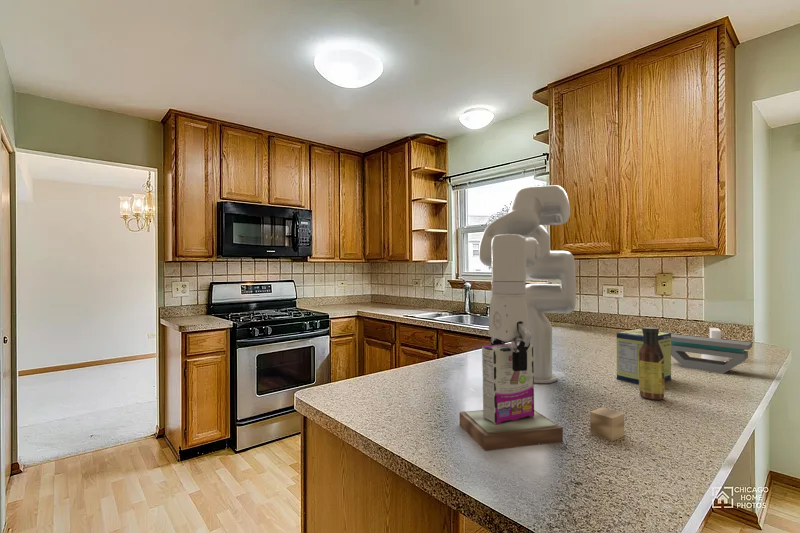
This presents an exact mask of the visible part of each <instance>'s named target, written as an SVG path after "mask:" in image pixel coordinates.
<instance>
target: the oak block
mask: <svg viewBox="0 0 800 533" xmlns="http://www.w3.org/2000/svg"><path fill="white" fill-rule="evenodd" d="M589 412H590V414H589V417H590V418H589V420H590V423H589V424H590V426H589V428H590V429H589V433H590V435H594V436H596V437H599V438H602V439H605V440H607V441H610V442H614V441H616V440H619V439H621V438H622V437H624V436H625V413H623V412H620V411H617V410H614V409H610V408H607V407H603V406H602V407H599V408H597V409H594V410H591V411H589Z"/></svg>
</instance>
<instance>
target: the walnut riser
mask: <svg viewBox="0 0 800 533" xmlns="http://www.w3.org/2000/svg"><path fill="white" fill-rule="evenodd" d="M459 426H460V427H461V428H462V429H463V430H464V431H465V432H466V433H467V434H468V435H469V436H470V437H471V438H472V439H473V440H474V441H475V442H476V443H477V444H478V445H479V447H481V448H482V449H483V450H484V451H485V452H487V451H495V450H503V449H511V448H518V447H519V448H521V447H529V446H538V445H547V444H555V443H556V444H557V443H563V442H564V428H563V426H561V425H559V424H557V423H556V422H555V421H552V419H550V418H548V417H546V416H545V415H543V414H541V413H540V412H539V411H537V410H535V409H534V416H533V417H529V418H525V419H520V420H516V421H511V422H507V423H502V424H494V423H492V422H490V421H488V420H486V419H485V418H484V417H483V409H478V410H467V411H459Z"/></svg>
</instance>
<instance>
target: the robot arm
mask: <svg viewBox="0 0 800 533" xmlns="http://www.w3.org/2000/svg"><path fill="white" fill-rule="evenodd" d="M570 216H571V205H570V201H569V197H568V194H567V192H566V191H565V189H564V188H563V187H562V186H561V185H557V184H553V185H552V184H551V185H540V186H539V185H538V186H529V187H527V186H526V187H523V188H520V189H519V190H518V191H517V192H515V194H514V196H513V199H512V202H511V204H510V208H509V211H508V213H506V214H504V215H502V216H500V217H498V218H497V219H495V220H493V221H492V222H491V223H490V224H489V225H487V226H486V228H485V229H484V231H483V233H482V236H481V239H480V241H479V248H478V258H479V260H480V262H481V263H482V264H483V266H487V267H491V298H490V302H489V312H488V313H489V314H488V334H489V335H490V343H491V346H492V345H500V344H506V343H509V342H511V343H512V346H513V349H514V351H515V352H512V369H513V371H526V370H527V352H528V351H529V349H528V348H529V347H530V345H533V366H534V367H533V368H534V384H552V383H555V382H556V381H558V376H557V374H555V373H553V326H552V323H551V321H550V320H549V319H548V318H547V316H546V314H570V313H573V312H574V311H575V309H576V302H577V290H576V288H577V287H576V286H577V284H576V282H577V280H576V261H575V257H574V255H573V253H571V252H570V251H567V250H551V237H550V233H549V232H548V231H547V230H546V228H545V227H544V226H556V225H557V226H558V225H559V226H560V225H564V224H566V223H567V222H568V221H569V219H570ZM527 279H529V280H535V281H557V282H559V283H527ZM526 283H527V284H526ZM517 343H520V344H519V345H517Z"/></svg>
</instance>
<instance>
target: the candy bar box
mask: <svg viewBox="0 0 800 533" xmlns="http://www.w3.org/2000/svg"><path fill="white" fill-rule="evenodd" d="M519 344H520V343H517V345H519ZM528 349H529V351H528V352H527V370H526V371H513V369H512V352H515V351H514V349H513V346H512V343H509V342H507V343H505V344H500V345H492V344H491V345H483V346H482V347H481V350H482V351H481V356H482V357H481V358H482V360H481V361H482V364H481V365H482V405H483V407H482V410H483V417H484V418H485V419H486V420H488V421H490V422H492V423H494V424H502V423H507V422H511V421H516V420H520V419H525V418H529V417H533V416H534V410H535V383H534V368H533V367H534V366H533V345H530V347H529V348H528Z"/></svg>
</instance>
